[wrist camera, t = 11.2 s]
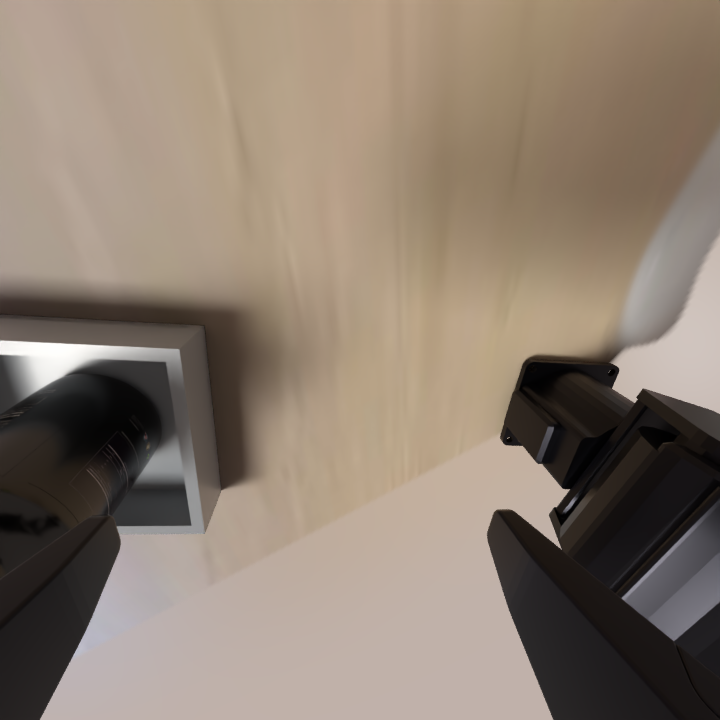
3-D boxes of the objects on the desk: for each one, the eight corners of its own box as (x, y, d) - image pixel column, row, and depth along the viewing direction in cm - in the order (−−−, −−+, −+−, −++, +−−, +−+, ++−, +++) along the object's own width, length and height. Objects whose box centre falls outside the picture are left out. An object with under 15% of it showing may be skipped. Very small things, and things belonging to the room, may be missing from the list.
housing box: (204, 325, 19) (179, 349, 16) (221, 490, 24) (204, 533, 21) (-42, 312, 18) (-123, 334, 15) (30, 490, 23) (-19, 536, 19)
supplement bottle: (57, 462, 21) (-229, 729, 10) (29, 364, 19) (-401, 586, 8) (172, 466, 22) (19, 717, 11) (161, 373, 19) (-56, 584, 8)
